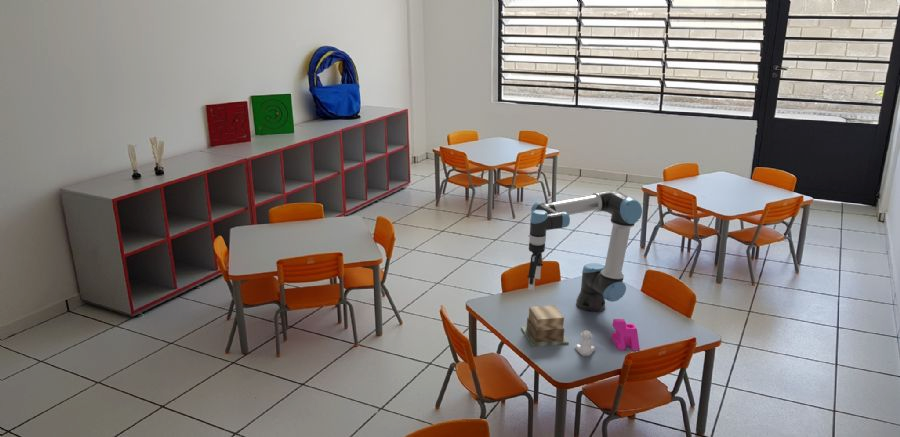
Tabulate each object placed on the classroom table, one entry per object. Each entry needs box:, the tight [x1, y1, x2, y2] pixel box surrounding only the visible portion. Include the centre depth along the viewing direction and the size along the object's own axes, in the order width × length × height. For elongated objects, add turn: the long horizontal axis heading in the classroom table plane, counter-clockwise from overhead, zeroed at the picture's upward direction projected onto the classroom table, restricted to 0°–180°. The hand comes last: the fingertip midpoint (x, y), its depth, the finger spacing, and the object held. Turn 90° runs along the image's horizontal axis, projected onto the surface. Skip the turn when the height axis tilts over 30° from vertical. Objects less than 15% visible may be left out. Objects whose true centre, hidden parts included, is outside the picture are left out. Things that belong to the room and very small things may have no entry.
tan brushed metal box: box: [521, 304, 570, 348], centre depth 345 cm, size 18×18×13 cm
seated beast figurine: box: [574, 330, 596, 357], centre depth 331 cm, size 10×9×12 cm
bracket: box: [610, 318, 641, 351], centre depth 340 cm, size 12×10×10 cm
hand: (534, 284), depth 341 cm, fingers open, 13 cm apart
